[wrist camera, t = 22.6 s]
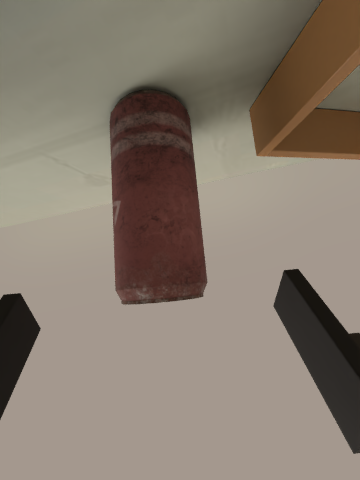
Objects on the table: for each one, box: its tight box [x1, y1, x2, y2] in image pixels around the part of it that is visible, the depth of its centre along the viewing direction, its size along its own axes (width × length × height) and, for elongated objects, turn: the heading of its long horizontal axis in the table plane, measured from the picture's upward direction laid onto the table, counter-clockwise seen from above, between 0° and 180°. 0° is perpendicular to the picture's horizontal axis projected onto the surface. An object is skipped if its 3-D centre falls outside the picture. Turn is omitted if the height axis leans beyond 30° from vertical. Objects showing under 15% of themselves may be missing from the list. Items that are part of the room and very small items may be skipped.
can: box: [110, 90, 207, 304], centre depth 17 cm, size 6×6×14 cm
